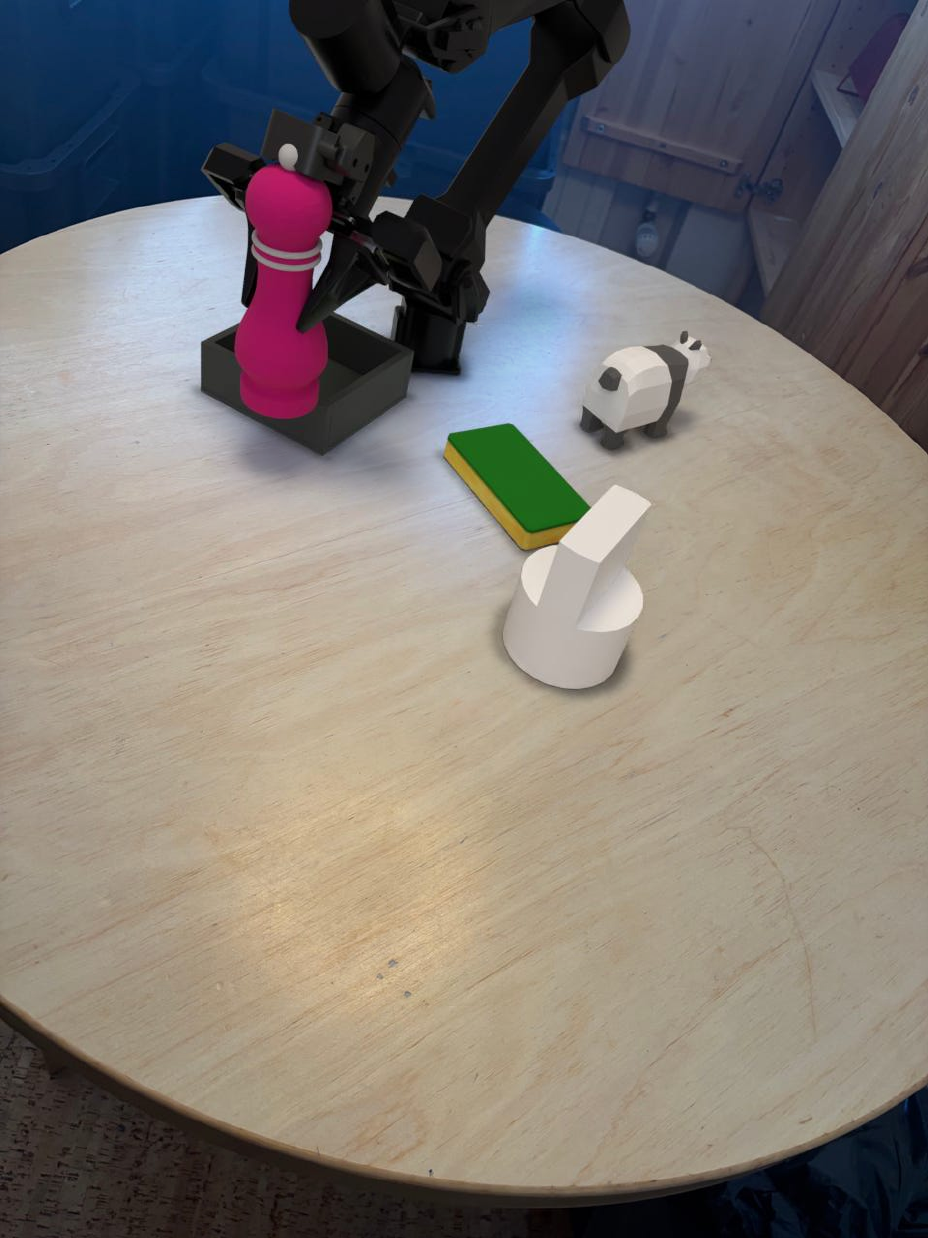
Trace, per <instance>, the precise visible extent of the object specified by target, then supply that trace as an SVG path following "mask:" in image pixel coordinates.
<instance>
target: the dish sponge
mask: <svg viewBox="0 0 928 1238" xmlns="http://www.w3.org/2000/svg"><path fill="white" fill-rule="evenodd" d="M445 443H446V444H445V448H444V453H443V457H444V458H445V460H446V461H447V462H448V463H449V464H450V466H451V467H452V468H453V469H454V470H455V471H456V473H457V474H458V475H459V476H460V478H462V480H463V481H464V482H465V483H466V484H467V486H468V487H469V488H470V489H471V491H472V492H473V493H474V494H475V496H477V498H478V499H479V500H480V501H481V502H482V504H483V505H484V506H485V507H486V509H487V510H488V511H489V512H490V513H491V514H492V515H493V517H494V519H496V520H497V522H498V523H499V524H500V525H501V526H502V528H503V529H504V530H505V531H506V532H507V534H508V535H509V536H510V537H511V538H512V540H513V541H514V542H515V543H516V545H518V546H519V548H520V549H522V550H525V551H529V550H533V549H536V548H540V547H544V546H550V545H552V544H557V543H559V541H560V540H561V539H562V538H563V537H564V536H565V535H566V534H567V533H568V532H569V531H570V530H571V529H572V528H573V527H574V525H575V524H576V523H577V522H578V521H579V520H580V519H581V518H582V517H583V516H584V515H585V514H586V513H587V512H588V511H589V510H590V509H591V508H592V506H591V505H589V504H588V502H587V501H586V500H585V499H584V498H583V497H582V496H581V495H580V494H579V493H578V492H577V491H576V489H574V487H573V486H571V484H570V483H569V482H568V481H567V480H566V479H565V478H564V477H563V476H562V475H561V474H560V472H558V470H556V468H555V467H554V466H553V465H552V464H551V463H550V462H549V461H548V460H547V459H546V458H545V456H544V455H542V453H541V452H540V451H539V450H538V449H537V448H536V447H535V446H534V445H533V444H532V443H531V442H530V441H529V439H528V438H527V437H526V436H525V435H524V434H523V433H522V432H521V431H520V429H518V428H517V427H516V425H515V424H513V423H510V422H507V423H502V424H501V423H500V424H496V425H490V426H489V425H488V426H485V427H484V426H483V427H479V428H478V427H477V428H473V429H467V430H462V431H456V432H449V433H448V434H447V437H446V442H445Z"/></svg>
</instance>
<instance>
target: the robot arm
mask: <svg viewBox="0 0 928 1238" xmlns="http://www.w3.org/2000/svg"><path fill="white" fill-rule="evenodd" d="M288 15H289V18H290V22H291V23H292V25H293V27H294V28H295V30H296V31H297V33H298V35H299V37H300V38H301V40H302V41H303V43H304V45H305V47H306V48H307V49H308V51H309V52H310V54H311V56H312V57H313V59H314V60H315V62H316V64H317V66H318V67H319V69H320V70H321V72H322V73H323V75H324V76H325V78H326V80H327V82H328V83H329V84H330V85H331V86H332V87H333V88H334V89H336V91H339V92H340V95H339V97H338V99H337V101H336V103H335V105H334V107H333V109H332V111H331V113H330V114H328V113H327V112H323V111H322V110H321V111H319V113H318V114H316V115H315V116H314V118H313V119H312V122H309V121H306V120H304V119H301V118H299V117H296V116H294V115H291V114H289V113H287V112H284V111H282V110H279V109H277V108H272V110H271V114H270V117H269V121H268V125H267V129H266V132H265V135H264V140H263V143H262V147H261V151H260V153H259V155H257V154H255V153H252V152H249V151H248V150H244V149H242V148H240V147H237V146H235V145H232V144H230V143H228V142H223V143H219V144H216V145H214V146H213V147H212V148H211V149H210V151H209V152H208V155H207V157H206V158H205V161H204V162H203V164H202V167H201V168H200V171H201V172H202V174H203V175H205V177H206V178H207V179H208V180H209V181H210V182H211V184H212V185H213V186H214V187H215V188H216V190H217V191H218V192H219V193H220V195H222V196H223V197H224V198H225V200H226V201H227V202H228V203H229V205H230V206H232V207H234V208H235V209H236V210H238V211H240V212H242V213H244V214H245V217H246V222H247V223H246V224H247V245H246V246H247V247H246V257H245V263H244V264H245V266H244V274H243V279H242V280H243V281H242V288H241V296H240V304H241V305H242V306H243V307H244V308H246V309H248V307H249V306H250V304H251V301H252V299H253V297H254V295H255V291H256V288H257V279H258V260H257V259H256V258H255V257H254V256H253V254H252V250H251V249H252V245H253V241H252V233H253V231H254V230H255V229H256V228H255V227H254V226H253V225H252V223H251V222H250V220H249V218H248V215H247V212H246V203H245V200H246V192H247V188H248V185H249V183H250V181H251V179H252V178H253V176H254V175H255V174H256V173H257V172H258V171H259V170H260V169H262V168H263V167H265V166H267V165H268V164H267V163H266V161H265V160H264V159H266V160H268V161H270V162H274V161H279V151H280V149H281V147H282V146H283V145H285V144H291V145H293V146H294V147H295V148H296V150H297V154H298V157H297V161H296V163H295V164H294V165H293V167H294V168H295V170H296V171H297V172H299V173H301V174H304V175H306V176H309V177H311V178H313V179H316V180H318V181H321V182H323V181H324V182H325V184H326V186H327V187H328V189H329V192H330V195H331V200H332V217H331V221H330V224H329V226H328V228H327V230H326V231H325V232H327V233H330V234H332V240H331V246H330V252H329V257H328V261H327V263H326V264H325V266H324V268H323V270H322V272H321V273H320V276H319V278H318V279H317V281H316V283H315V285H314V286H313V290H312V292H311V294H310V296H309V298H308V299H307V301H306V303H305V305H304V307H303V309H302V311H301V313H300V316H299V318H298V321H297V323H296V327H295V328H296V330H297V331H299V332H300V333H302V334H304V333H305V332H308V331H309V330H310V329H312V328H313V327H314V326H316V325H317V324H318V323H320V322H321V321H322V320H324V319H325V318H326V317H327V316H329V315H330V314H331V313H333V312H335V311H337V310H338V309H339V308H341V307H342V306H344V305H345V304H346V303H348V302H350V300H353V299H354V298H355V297H357V296H359V295H360V294H362V293H364V292H365V291H368V290H369V289H370V288H372V287H373V286H376V285H377V284H378V285H381V286H385V287H387V286H388V290H389V291H390V292H392V293H396V294H398V295H400V296H401V302H400V305H396V306H394V311H393V317H392V324H391V331H390V338H389V339H390V340H393V341H395V342H397V343H399V344H401V345H403V346H405V347H407V348H409V349H411V350H413V351H414V356H413V361H412V367H411V373H413V372H414V373H425V374H436V375H438V374H439V375H449V376H450V375H451V376H460V375H462V367H461V363H460V356H461V351H462V347H463V342H464V337H465V332H466V328H467V323H469V324H476V323H477V322H478V320H479V316H480V315H481V314H482V313H483V312H484V310H485V308H486V306H487V303H488V300H489V297H490V295H491V291H490V288H489V286H488V285H487V283H486V281H485V278H484V277H483V275H482V274H481V271H482V269H483V267H484V264H485V262H486V247H487V246H486V245H487V242H486V241H487V229H488V227H489V225H490V223H491V222H492V221H493V218H494V217H495V215H496V214H497V213H498V211H499V210H500V208H501V206H502V205H503V204H504V201H505V200H506V199H507V198H508V195H509V194H510V192H511V191H512V190H513V187H514V186H515V184H516V183H517V182H518V180H519V178H520V177H521V175H522V174H523V172H524V170H525V169H526V167H527V166H528V165H529V163H530V161H531V160H532V158H533V157H534V155H535V153H536V152H537V151H538V149H539V147H540V146H541V144H542V143H543V141H544V140H545V138H546V136H547V135H548V133H549V132H550V131H551V129H552V127H553V126H554V124H555V122H556V121H557V119H558V118H559V116H560V114H562V111H563V110H564V108H565V107H566V105H567V104H568V103H569V102H571V101H572V100H574V99H576V98H578V97H580V96H583V95H585V94H586V93H589V92H590V91H593V90H594V89H596V88H598V87H599V86H600V84H601V83H602V82H603V81H604V80H605V78H606V77H607V75H608V74H609V73H610V72H611V70H612V69H613V68H614V67H615V65H616V64H618V63H619V62H620V61H621V60H622V58H623V57H624V55H625V53H626V51H627V49H628V47H629V42H630V40H631V33H632V28H631V27H632V26H631V23H630V19H629V16H628V11H627V8H626V5H625V1H624V0H288ZM527 19H531V21H532V24H531V26H530V28H529V45H528V46H529V49H528V63H527V65H526V66H525V68H524V70H523V72H522V73H521V75H520V76H519V78H518V79H517V81H516V82H515V84H514V86H513V87H512V89H511V90H510V91H509V93H508V95H507V96H506V98H505V99H504V100H503V103H502V104H501V106H500V107H499V109H498V110H497V111H496V114H495V115H494V117H493V118H492V120H491V121H490V123H489V124H488V126H487V128H486V129H485V131H484V132H483V134H482V135H481V137H480V138H479V140H478V142H477V143H476V144H475V146H474V148H473V149H472V150H471V152H470V154H469V155H468V156H467V158H466V160H465V162H463V163H464V164H462V167H461V168H460V169H459V171H458V173H457V174H456V176H455V177H454V179H453V180H452V181H451V183H450V185H449V186H448V188H447V189H446V191H445V192H444V193H442V194H441V195H439V196H436V197H434V198H432V197H431V196H429V195H426V194H424V193H420V194H418V196H416V197H415V198H414V199H413V200H412V202H411V204H410V205H409V208H408V210H407V211H406V213H405V215H404V216H401V215H398V214H396V213H394V212H391V211H389V210H384V211H382V212H380V213H378V214H376V215H375V217H374V220H372V219H371V217H370V214H371V212H372V210H373V208H374V206H375V204H376V202H377V200H378V198H379V196H380V194H381V192H382V190H383V188H384V186H386V187H388V188H391V189H393V187H394V186H395V183H396V181H397V179H398V174H397V171H396V170H395V168H394V167H395V165H396V163H397V162H398V159H399V157H400V155H401V153H402V152H403V149H404V148H405V145H406V143H407V141H409V140H408V139H409V137H410V135H411V134H412V131H413V130H414V128H415V126H416V124H417V122H418V120H419V118H423V119H426V120H429V121H434V120H435V118H436V114H437V113H436V112H437V111H436V110H437V103H436V101H435V97H434V94H433V86H434V85H433V80H432V79H430V78H427V77H425V76H424V75H423V73H422V70H421V68H420V67H419V64H418V63H417V62H416V61H415V60H417V61H420V62H422V63H424V64H426V65H429V66H431V67H433V68H436V69H438V70H440V71H442V72H445V73H447V74H450V75H455V74H460V73H461V72H463V71H464V70H466V69H467V68H468V67H469V66H471V65H472V64H474V63H475V62H476V61H477V60H479V59H480V58H482V57H483V56H484V55H485V54H486V53H487V52H488V47H489V42H490V37H492V35H494V34H495V33H497V32H498V31H502V30H503V29H504V30H505V29H506V28H508V27H510V26H513V25H515V24H518V23H520V22H522V21H524V20H527ZM412 58H413V59H412ZM414 59H415V60H414Z"/></svg>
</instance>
